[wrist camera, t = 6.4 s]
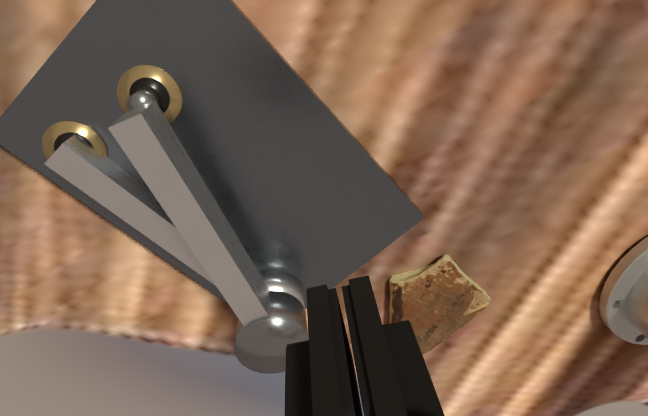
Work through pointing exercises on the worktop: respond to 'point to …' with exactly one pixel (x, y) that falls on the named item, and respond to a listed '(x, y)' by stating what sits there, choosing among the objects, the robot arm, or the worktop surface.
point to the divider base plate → (209, 141)
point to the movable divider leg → (209, 235)
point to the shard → (435, 301)
